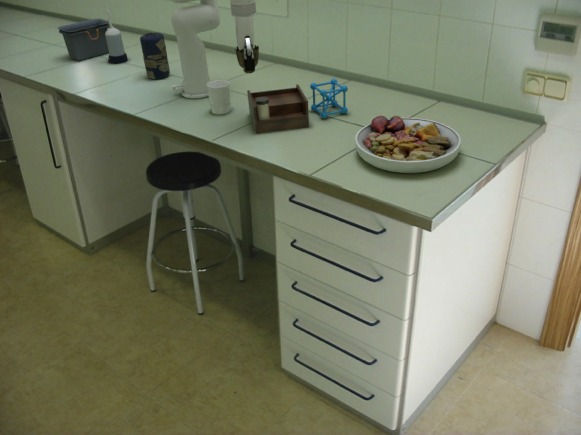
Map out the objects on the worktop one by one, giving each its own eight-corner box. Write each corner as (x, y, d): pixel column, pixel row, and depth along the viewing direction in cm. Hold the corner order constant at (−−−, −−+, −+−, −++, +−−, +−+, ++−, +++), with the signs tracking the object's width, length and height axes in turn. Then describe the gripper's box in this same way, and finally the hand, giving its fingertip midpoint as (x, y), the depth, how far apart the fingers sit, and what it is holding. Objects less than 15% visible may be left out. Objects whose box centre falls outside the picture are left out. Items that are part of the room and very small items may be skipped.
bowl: (481, 155, 170) (485, 130, 166) (406, 189, 156) (407, 163, 152) (406, 124, 191) (408, 101, 187) (334, 151, 177) (333, 127, 173)
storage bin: (104, 47, 287) (97, 17, 279) (120, 53, 277) (114, 21, 269) (62, 58, 275) (54, 27, 267) (78, 65, 265) (70, 32, 257)
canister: (159, 81, 240) (151, 37, 230) (142, 78, 244) (133, 34, 235) (175, 74, 247) (168, 30, 237) (158, 71, 251) (150, 28, 241)
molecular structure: (309, 110, 206) (308, 82, 200) (335, 104, 209) (335, 77, 204) (322, 120, 198) (321, 91, 193) (349, 114, 201) (349, 85, 196)
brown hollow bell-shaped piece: (257, 76, 185) (255, 51, 181) (234, 75, 187) (232, 50, 182) (263, 68, 191) (261, 43, 187) (241, 68, 193) (239, 43, 189)
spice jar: (258, 123, 191) (256, 102, 187) (256, 118, 195) (254, 97, 191) (271, 121, 192) (269, 100, 188) (269, 116, 195) (267, 96, 191)
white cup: (215, 117, 205) (211, 89, 200) (206, 109, 211) (203, 82, 206) (236, 112, 208) (232, 84, 203) (227, 105, 214) (224, 78, 209)
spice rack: (255, 133, 192) (253, 107, 187) (249, 115, 205) (247, 90, 200) (309, 126, 194) (308, 100, 189) (299, 109, 207) (298, 84, 202)
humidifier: (106, 61, 267) (93, 4, 254) (122, 57, 272) (110, 0, 258) (114, 65, 262) (102, 6, 248) (131, 60, 266) (119, 2, 253)
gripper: (228, 3, 185) (234, 60, 195) (233, 17, 171) (239, 77, 180) (252, 1, 186) (257, 57, 196) (259, 15, 172) (264, 74, 181)
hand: (248, 66), depth 188 cm, fingers closed on brown hollow bell-shaped piece, 7 cm apart
